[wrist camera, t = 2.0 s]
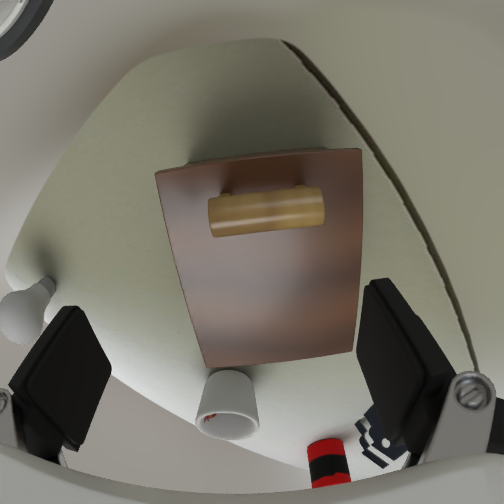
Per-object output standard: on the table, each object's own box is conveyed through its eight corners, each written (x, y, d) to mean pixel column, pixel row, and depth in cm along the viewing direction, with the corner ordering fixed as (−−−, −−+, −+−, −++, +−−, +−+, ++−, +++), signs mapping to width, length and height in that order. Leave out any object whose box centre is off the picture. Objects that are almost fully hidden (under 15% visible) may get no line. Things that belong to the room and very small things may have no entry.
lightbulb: (28, 264, 30) (-20, 311, 21) (58, 259, 30) (8, 310, 20) (46, 302, 33) (6, 353, 23) (76, 300, 33) (36, 357, 23)
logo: (318, 438, 43) (347, 488, 34) (388, 372, 37) (431, 427, 28) (370, 424, 52) (396, 462, 43) (428, 367, 46) (461, 406, 37)
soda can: (335, 434, 47) (346, 485, 37) (347, 444, 50) (357, 490, 39) (300, 446, 49) (307, 496, 38) (315, 456, 52) (322, 501, 41)
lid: (157, 170, 18) (127, 190, 13) (357, 147, 17) (394, 160, 12) (207, 361, 25) (201, 408, 20) (350, 345, 24) (366, 389, 20)
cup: (266, 403, 41) (268, 446, 34) (216, 408, 42) (213, 450, 35) (251, 358, 37) (252, 408, 30) (193, 366, 37) (185, 413, 30)
